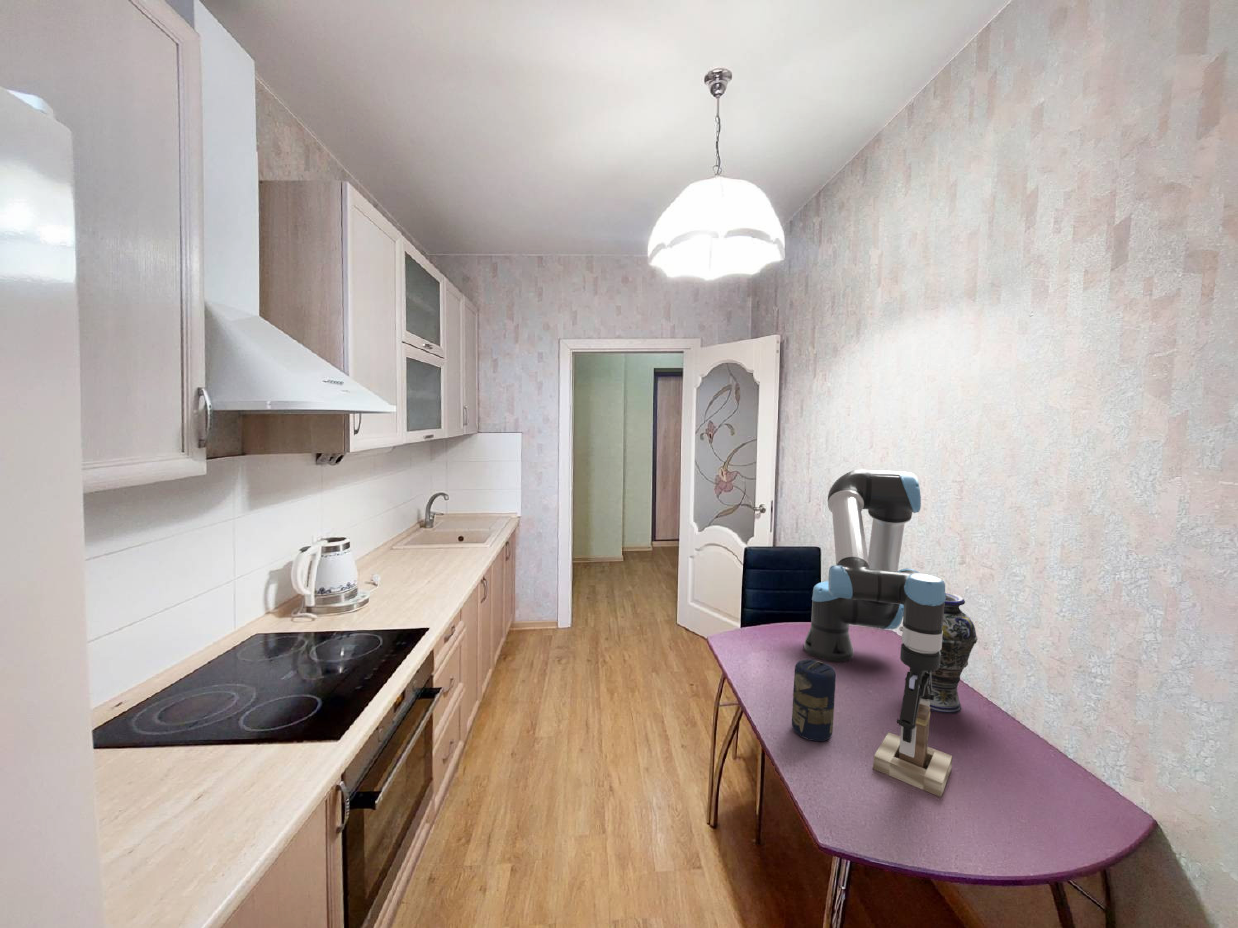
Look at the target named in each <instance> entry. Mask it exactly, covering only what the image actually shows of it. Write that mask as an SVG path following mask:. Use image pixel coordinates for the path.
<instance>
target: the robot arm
mask: <svg viewBox="0 0 1238 928" xmlns="http://www.w3.org/2000/svg"><path fill="white" fill-rule="evenodd" d="M921 495H922V494H921V489H920V484H919V480H918V477H917V476H916V475H915V473H913V472H909V471H900V470H897V471H895V470H872V469H871V470H869V469H856V470H852V471H849V472H846V473H844V474H843V475H840V477H839V478H837V480H835V481H834V482H833V483H832V486H831V487H830V489H829V491H828V494H827V506H828V510H829V511H830V512H831V513H832V525H833V526H832V527H833V528H832V529H833V538H834V539H833V541H834V553H835V555H834V556H835V565H831V566H830V567H829V569H828V577H827V578H828V580H826V581H822V582H818V583H816V584H815V585H814V586H813V589H812V597H811V600H812V601H811V602H812V603H811V605H812V606H811V620H810V621H811V623H810V628H809V630H808V633H807V635H806V637H805V640H804V650H805V652H806V653H807V654H809V655H811V656H812V657H814V658H816V659H820V660H823V661H829V662H835V663H836V662H837V663H840V662H843V663H844V662H848V661H850V660H852V659H853V658H854V647H853V643H852V640H851V637H850V633H849V629H850V626H859V627H864V628H866V627H867V628H875V629H880V630H897V629H898V628H899V629H898V630H899V631H900V632H902V634H901V642H902V643H901V644H900V661H901V662H902V663H903V664H904V665H905V666H908V668H909V671H907V672H906V677H905V678H904V680H905V683H904V691H903V696H902V703H901V708H900V709H901V710H900V714H899V718H898V719H896V724H898V725H899V726H900V734H899V736H900V749H899V752H900V753H903V754H905V755H908V756H910V757H913V758H914V755H915V741H916V725H915V724H916V719H917V714H918V709H919V703H920V704H923V705H926V706H929V707H930V701H929V700H928V699H930V700H934V695H931V694H930V693H932V692H933V690H932V672H931V671H936V670H938V669H939V667H940V658H941V653H940V650H941V649H942V635H943V631H942V628H943V617H944V605H945V599H946V594H945V592H946V583H945V580H943V579H942V578H940V577H937V576H935V575H931V574H926V573H921V572H919V571H918V570H916V569H912V568H902V569H899V564H900V557H901V549H902V542H903V537H904V536H903V535H904V530H905V524H907V523H908V522H910V521H911V519H912V516H913V514H917V513H919V512H920V511H921V507H922V505H921V504H922V498H921ZM863 510H867V514H868V515H869V517H870V518H872V523H871V530H870V531H871V533H870V539H869V546H868V548H867V540H866V535H865V529H864V521H863V515H862V511H863ZM898 569H899V570H898ZM901 624H902V626H900V625H901Z"/></svg>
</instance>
